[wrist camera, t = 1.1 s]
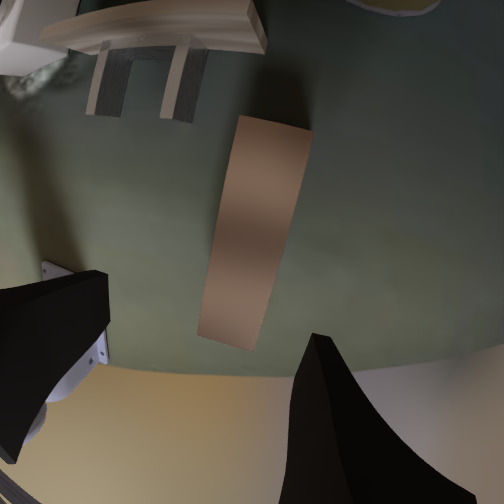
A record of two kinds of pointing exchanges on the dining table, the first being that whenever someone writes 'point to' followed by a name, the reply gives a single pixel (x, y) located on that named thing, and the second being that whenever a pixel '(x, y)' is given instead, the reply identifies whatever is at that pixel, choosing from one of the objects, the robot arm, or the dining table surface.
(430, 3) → the canister
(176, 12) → the wall plate
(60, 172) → the dining table surface
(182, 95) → the bracket
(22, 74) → the medicine bottle
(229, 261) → the brown wooden block
